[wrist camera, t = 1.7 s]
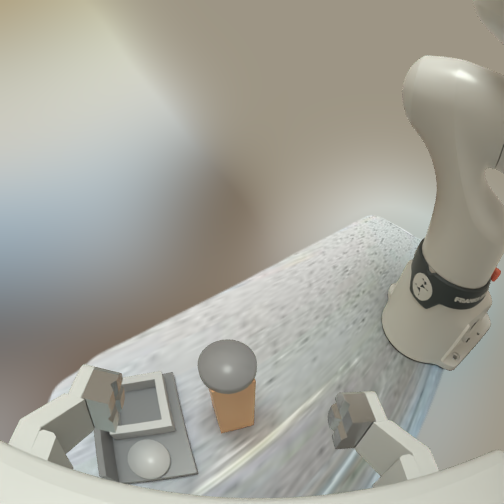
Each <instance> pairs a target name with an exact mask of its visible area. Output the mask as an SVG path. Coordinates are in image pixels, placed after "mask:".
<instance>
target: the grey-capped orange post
mask: <svg viewBox="0 0 504 504" xmlns="http://www.w3.org/2000/svg"><path fill="white" fill-rule="evenodd" d="M198 370H199V374H200V377H201V380H202V381H203V383H204V384H205V385H206V386H207V387H208V388H209V392H210V396H211V400H212V404H213V407H214V411H215V414H216V418H217V421H218V424H219V427H220V431H221V433H225V432H229V431H233V430H237V429H240V428H244V427H248V426H252V425H254V407H255V386H256V381H255V376H256V370H257V361H256V357H255V355H254V353H253V351H252V350H251V349H250V348H249V347H248V346H247V345H245V344H243V343H241V342H239V341H235V340H220V341H216V342H214V343H212V344H210V345H208V346H207V347H206V348H205V349H204V350H203V351H202V353H201V354H200V356H199V359H198Z"/></svg>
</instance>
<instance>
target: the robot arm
mask: <svg viewBox="0 0 504 504" xmlns="http://www.w3.org/2000/svg"><path fill="white" fill-rule="evenodd" d="M473 4H474V8H475V11H476V14H477V16H478V17H479V19H480V21H481V22H482V24H483V25H484V26H485V27H486V28H487V29H488V30H489V31H490V32H491V33H492V34H493V35H494V36H495V37H496V38H497V39H498V40H499V41H500V42H501V43H502V44H503V45H504V0H473ZM402 98H403V105H404V110H405V113H406V115H407V117H408V120H409V122H410V123H411V125H412V127H413V128H414V129H415V130H416V132H417V133H418V134H419V136H420V137H421V139H422V140H423V142H424V143H425V145H426V147H427V149H428V151H429V154H430V156H431V159H432V162H433V165H434V169H435V174H436V182H437V194H436V201H435V206H434V211H433V214H432V218H431V221H430V225H429V228H428V231H427V234H426V237H425V238H424V239H423V240H422V241H421V242H420V244H419V246H418V248H417V250H416V252H415V254H414V258H413V260H410V261H409V262H408V263H407V265H406V267H405V269H404V271H403V273H402V274H401V276H400V278H399V280H398V282H397V283H395V284H392V285H391V286H390V288H389V290H388V302H387V304H386V306H385V307H384V310H383V313H382V325H383V329H384V331H385V334H386V336H387V337H388V339H389V341H390V342H391V343H392V344H393V346H394V347H395V348H396V349H397V350H399V351H400V352H401V353H402V354H404V355H406V356H407V357H409V358H411V359H413V360H416V361H419V362H424V363H432V364H436V365H438V366H440V367H442V368H444V369H446V370H449V371H451V370H454V369H455V368H456V367H457V366H458V365H459V364H460V362H461V361H462V360H463V359H464V358H465V357H466V356H467V355H468V354H469V352H470V351H471V350H472V349H473V348H474V347H475V346H476V344H477V343H478V342H479V341H480V340H481V338H482V337H483V336H484V335H485V334H486V332H487V331H488V330H489V328H490V326H491V323H490V319H489V316H488V314H487V311H488V310H489V308H490V307H491V305H492V298H491V295H490V293H489V291H488V289H489V284H490V281H491V280H492V281H495V280H496V279H497V278H498V277H499V275H500V273H501V271H500V270H499V269H498V268H496V266H497V264H498V262H499V261H500V259H501V257H502V255H503V253H504V206H503V204H502V203H501V201H500V200H499V199H498V197H497V196H496V195H495V194H494V192H493V191H492V189H491V188H490V186H489V185H488V183H487V181H486V178H485V170H486V169H487V168H492V169H496V170H498V171H500V172H502V173H504V75H502V74H500V73H497V72H495V71H492V70H490V69H487V68H484V67H482V66H479V65H476V64H474V63H471V62H468V61H465V60H462V59H456V58H449V57H441V56H427V55H426V56H424V57H422V58H420V59H419V60H418V61H416V62H415V63H414V64H413V65H412V67H411V68H410V69H409V71H408V73H407V75H406V77H405V80H404V84H403V91H402ZM453 358H454V359H453ZM122 381H123V378H122V374H121V373H118V372H114V371H110V370H106V369H102V368H98V367H93V366H90V365H86V364H83V365H82V366H81V368H80V370H79V372H78V374H77V376H76V378H75V380H74V382H73V384H72V386H71V388H70V391H69V393H68V394H63V395H61V396H59V397H58V398H56V399H54V400H53V401H51V402H49V403H47V404H46V405H44V406H42V407H41V408H39V409H37V410H36V411H34V412H32V413H31V414H29V415H27V416H25V417H23V418H22V419H20V421H19V423H18V426H17V427H16V429H15V431H14V433H13V435H12V437H11V440H10V442H9V444H7V443H5V442H3V441H1V440H0V504H504V452H503V451H501V450H494V451H491V452H489V453H487V454H484V455H482V456H479V457H477V458H474V459H472V460H469V461H467V462H464V463H461V464H458V465H456V466H453V467H450V468H447V469H444V470H441V471H439V468H438V466H437V464H436V462H435V460H434V458H433V455H432V453H431V451H430V449H429V448H428V447H426V446H425V445H423V444H422V443H421V442H419V441H418V440H417V439H415V438H414V437H413V436H411V435H410V434H409V433H407V432H406V431H405V430H403V429H402V428H401V427H399V426H398V425H397V424H395V423H394V422H393V421H391V420H388V419H387V417H386V415H385V413H384V410H383V408H382V406H381V403H380V401H379V399H378V397H377V395H376V393H375V392H374V391H369V392H343V393H339V394H337V396H336V398H335V400H336V403H335V404H333V405H332V406H331V408H330V410H329V413H328V424H329V427H330V428H331V429H332V430H333V431H334V433H333V435H332V439H333V442H334V446H335V449H346V448H354V449H355V450H356V451H357V452H358V453H359V454H360V455H361V456H362V457H363V458H364V459H365V461H366V462H367V463H368V464H369V465H370V466H371V467H372V468H373V469H374V470H375V471H376V472H377V473H378V474H379V475H380V476H381V477H380V478H379V479H378V480H377V481H376V482H375V483H374V484H373V486H372V487H373V488H369V489H363V490H357V491H351V492H344V493H337V494H328V495H319V496H308V497H293V498H225V497H210V496H199V495H189V494H181V493H173V492H167V491H160V490H154V489H149V488H143V487H138V486H133V485H129V484H124V483H120V482H115V481H111V480H107V479H104V478H100V477H96V476H93V475H89V474H86V473H82V472H79V471H76V470H73V466H72V464H71V463H70V461H69V459H68V458H67V456H66V453H68V452H69V451H70V450H71V449H72V448H73V447H75V446H76V445H77V444H78V443H79V442H80V441H82V440H83V439H84V438H85V437H86V436H88V435H89V434H90V433H91V432H92V431H93V430H94V428H95V429H99V430H104V431H108V432H113V433H116V429H117V426H118V423H119V415H118V413H119V412H121V411H122V409H123V405H124V399H125V391H124V387H123V386H122V385H121V384H122Z"/></svg>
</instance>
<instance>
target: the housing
mask: <svg viewBox="0 0 504 504" xmlns="http://www.w3.org/2000/svg"><path fill="white" fill-rule="evenodd" d="M121 385H122V386H123V387H124V391H125V399H124V405H123V409H122V411H121V412H119V413H118V415H119V423H118V426H117V429H116V433H113V432H108V431H104V430H99V429H95V428H94V437H95V447H96V455H97V463H98V470H99V476H100V477H102V478H104V479H107V480H111V481H115V482H120V483H124V484H130V483H140V482H149V481H157V480H164V479H171V478H177V477H183V476H189V475H194V474H198V472H197V468H196V465H195V461H194V458H193V454H192V450H191V447H190V443H189V439H188V435H187V431H186V427H185V423H184V419H183V415H182V411H181V406H180V402H179V398H178V393H177V389H176V384H175V379H174V375H173V372H171V373H166V374H162V372H161V371H158V372H153V373H147V374H141V375H135V376H129V377H123V381H122V384H121Z"/></svg>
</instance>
